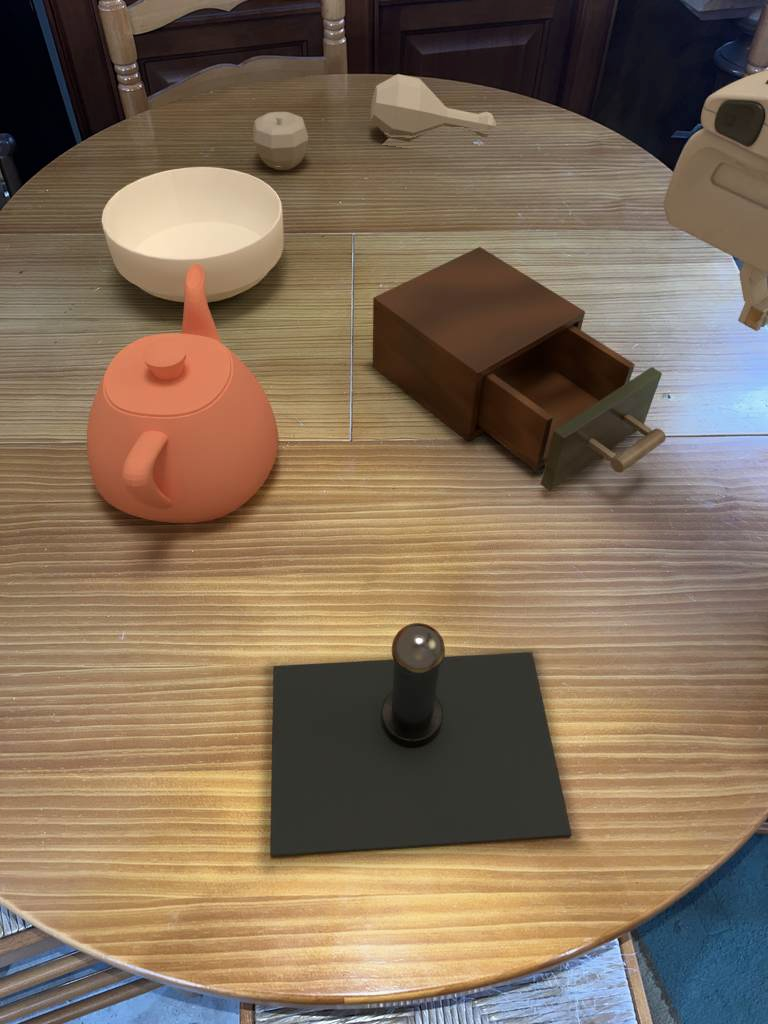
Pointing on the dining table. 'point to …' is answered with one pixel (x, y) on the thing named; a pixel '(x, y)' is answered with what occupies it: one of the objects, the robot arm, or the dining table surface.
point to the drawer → (569, 406)
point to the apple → (280, 139)
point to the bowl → (195, 231)
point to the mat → (411, 760)
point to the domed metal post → (414, 687)
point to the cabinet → (462, 331)
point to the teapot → (181, 423)
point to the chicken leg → (418, 110)
